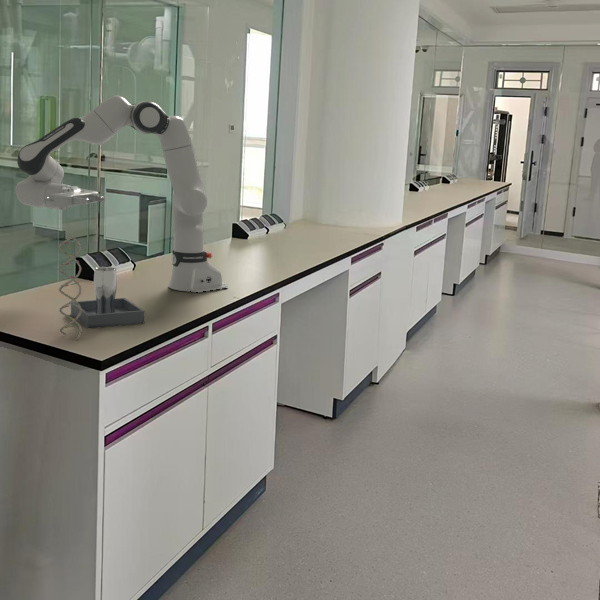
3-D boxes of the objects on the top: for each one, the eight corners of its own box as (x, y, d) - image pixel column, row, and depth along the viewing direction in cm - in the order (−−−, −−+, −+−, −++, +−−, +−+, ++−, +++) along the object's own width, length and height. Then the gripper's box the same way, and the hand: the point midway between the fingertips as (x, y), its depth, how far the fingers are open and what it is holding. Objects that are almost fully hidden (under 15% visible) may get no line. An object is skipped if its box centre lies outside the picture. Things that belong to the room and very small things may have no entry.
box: (124, 309, 241) (124, 297, 240) (144, 323, 227) (144, 310, 226) (70, 314, 231) (70, 301, 230) (88, 328, 217) (88, 315, 216)
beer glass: (93, 313, 230) (93, 266, 227) (115, 312, 233) (115, 266, 229) (94, 319, 224) (94, 271, 220) (118, 318, 226) (118, 271, 223)
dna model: (54, 336, 207) (53, 232, 200) (75, 333, 212) (74, 231, 205) (65, 342, 203) (64, 236, 196) (86, 339, 207) (86, 234, 200)
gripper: (40, 189, 237) (77, 193, 233) (76, 185, 256) (111, 189, 252) (41, 208, 239) (77, 212, 235) (77, 203, 258) (111, 207, 254)
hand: (95, 200), depth 244 cm, fingers open, 8 cm apart
